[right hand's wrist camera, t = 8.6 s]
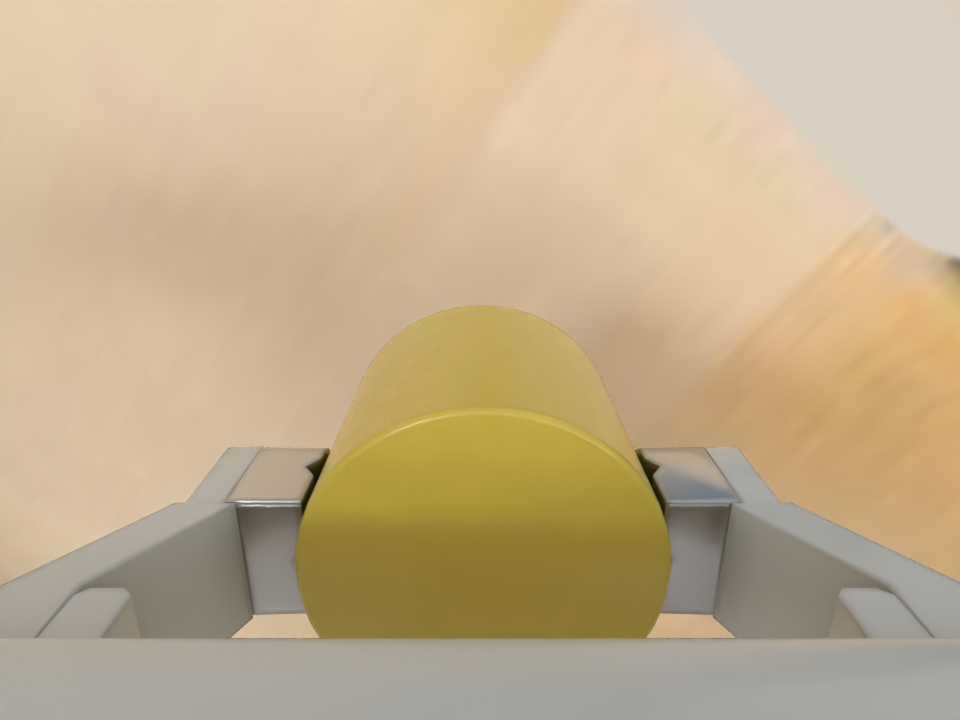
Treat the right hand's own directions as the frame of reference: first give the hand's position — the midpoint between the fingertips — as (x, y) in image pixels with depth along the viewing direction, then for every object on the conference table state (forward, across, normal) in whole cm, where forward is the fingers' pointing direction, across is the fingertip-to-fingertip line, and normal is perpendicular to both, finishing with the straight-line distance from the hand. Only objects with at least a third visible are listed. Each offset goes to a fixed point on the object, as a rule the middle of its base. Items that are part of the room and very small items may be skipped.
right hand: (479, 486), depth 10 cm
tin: (+2, 0, 0) cm, 2 cm away
